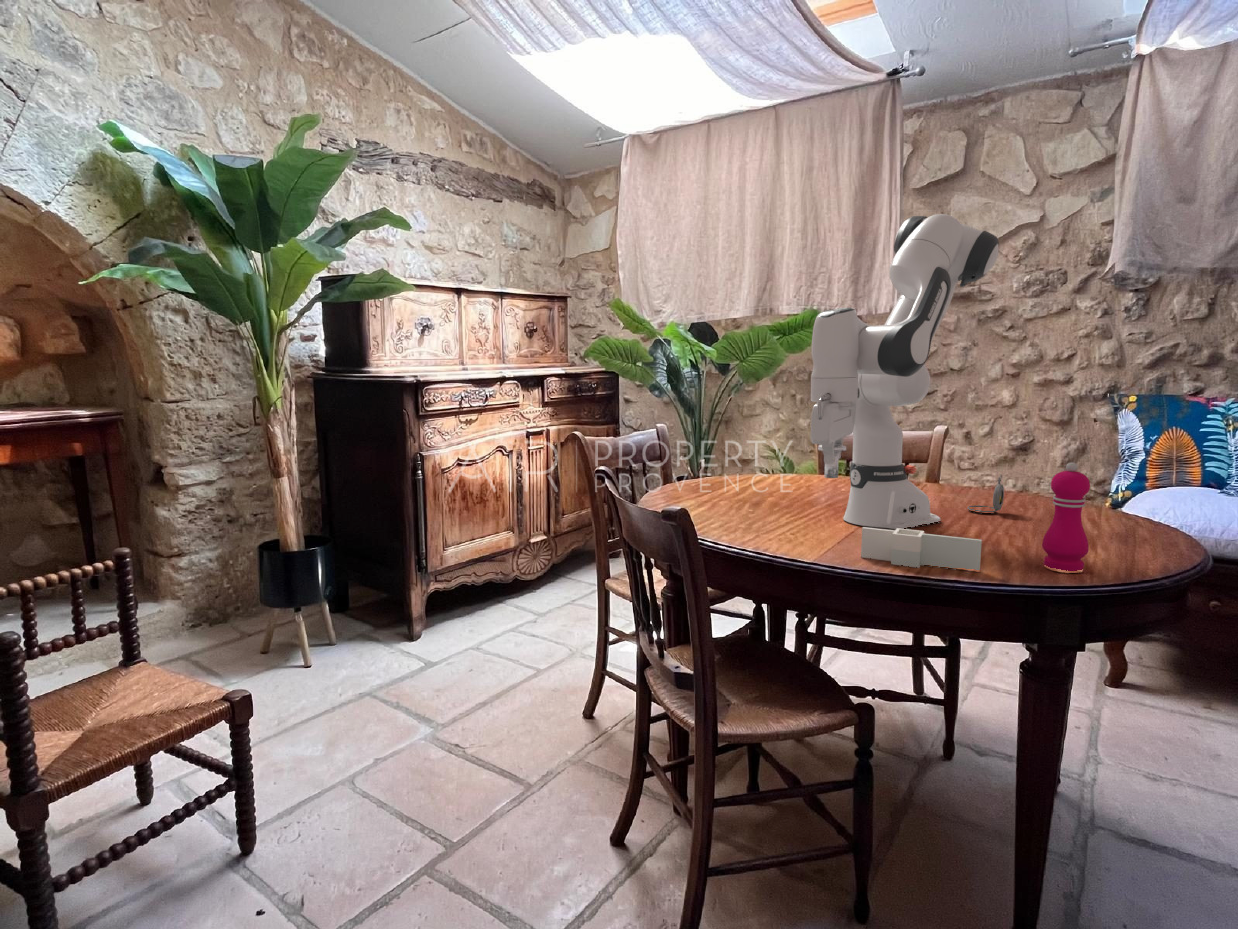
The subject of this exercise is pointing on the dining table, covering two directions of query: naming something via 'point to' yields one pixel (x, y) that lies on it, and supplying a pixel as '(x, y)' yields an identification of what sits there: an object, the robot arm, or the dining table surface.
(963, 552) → the hinge
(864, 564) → the dining table surface
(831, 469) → the hinge pin
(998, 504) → the pocket watch
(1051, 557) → the pepper mill
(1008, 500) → the dining table surface
